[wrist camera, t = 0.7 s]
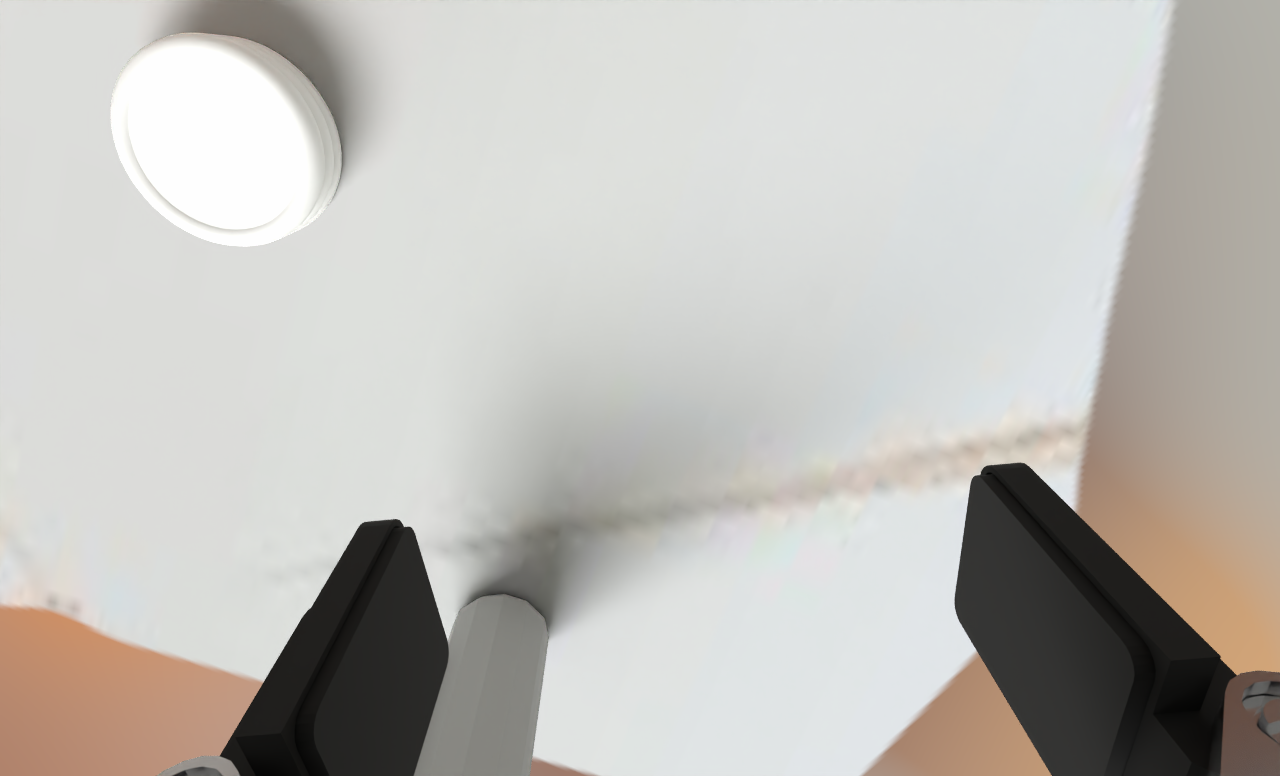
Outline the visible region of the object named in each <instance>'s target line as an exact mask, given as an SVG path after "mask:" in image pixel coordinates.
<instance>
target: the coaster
mask: <svg viewBox="0 0 1280 776" xmlns="http://www.w3.org/2000/svg"><path fill="white" fill-rule="evenodd" d="M110 120H111V128H112V134H113V138H114V142H115V146H116V149H117V152H118V154H119V157H120V160H121V162H122V164H123V166H124V168H125V170H126V172H127V174H128V175H129V177H130V178H131V180H132V181H133V183H134V185H135V186H136V187H137V188H138V190H139V191H140V192H141V194H142V195H143V196H144V197H145V198H146V199H147V201H148V202H149V203H150V204H151V205H152V206H153V207H154V208H155V209H156V210H157V211H159V212H160V213H161V214H162V215H163V216H164V217H166V218H167V219H168V220H170V221H171V222H172V223H174V224H175V225H177V226H178V227H180V228H182V229H183V230H185V231H187V232H189V233H191V234H193V235H195V236H197V237H199V238H202V239H205V240H208V241H211V242H215V243H219V244H224V245H233V246H256V245H262V244H267V243H270V242H273V241H276V240H279V239H281V238H283V237H285V236H287V235H289V234H291V233H293V232H295V231H298V230H300V229H302V228H304V227H306V226H307V225H309V224H310V223H312V222H313V221H314V220H316V219H317V218H318V217H319V216H320V215H321V214H322V213H323V212H324V210H325V209H326V208H327V206H328V205H329V203H330V202H331V200H332V198H333V196H334V194H335V192H336V189H337V186H338V183H339V179H340V174H341V167H342V152H341V144H340V138H339V134H338V130H337V127H336V124H335V122H334V119H333V116H332V114H331V112H330V110H329V108H328V106H327V104H326V103H325V101H324V99H323V98H322V96H321V95H320V93H319V92H318V90H317V89H316V88H315V87H314V85H313V84H312V83H311V81H310V80H309V79H308V78H307V77H306V76H305V75H304V74H303V73H302V72H301V71H300V70H299V69H298V68H297V67H295V66H294V65H293V64H292V63H291V62H290V61H288V60H287V59H285V58H284V57H283V56H281V55H280V54H278V53H277V52H275V51H273V50H271V49H270V48H268V47H266V46H264V45H261V44H259V43H256V42H254V41H252V40H248V39H244V38H240V37H235V36H226V35H216V34H207V33H198V32H194V33H179V34H174V35H169V36H166V37H163V38H161V39H158V40H155V41H154V42H152V43H150V44H148V45H147V46H145V47H144V48H142V49H140V50H139V51H138V52H137V53H136V54H135V55H134V56H132V57H131V58H130V60H129V61H128V62H127V63H126V65H125V66H124V67H123V69H122V71H121V73H120V75H119V76H118V78H117V81H116V84H115V87H114V90H113V94H112V100H111V115H110Z"/></svg>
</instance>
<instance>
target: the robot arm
mask: <svg viewBox="0 0 1280 776" xmlns="http://www.w3.org/2000/svg"><path fill="white" fill-rule="evenodd" d="M955 609H956V614H957V616H958V619H959V621H960V623H961V625H962V627H963V628H964V630H965V632H966V633H967V635H968V637H969V638H970V640H971V642H972V643H973V645H974V647H975V648H976V650H977V652H978V653H979V655H980V657H981V658H982V660H983V662H984V663H985V665H986V667H987V668H988V670H989V671H990V673H991V675H992V677H993V678H994V680H995V682H996V683H997V685H998V687H999V688H1000V690H1001V692H1002V693H1003V695H1004V697H1005V698H1006V700H1007V702H1008V703H1009V705H1010V707H1011V708H1012V710H1013V711H1014V713H1015V715H1016V717H1017V718H1018V720H1019V722H1020V723H1021V725H1022V726H1023V728H1024V730H1025V731H1026V733H1027V735H1028V737H1029V738H1030V740H1031V742H1032V743H1033V745H1034V747H1035V748H1036V750H1037V751H1038V753H1039V755H1040V757H1041V758H1042V760H1043V762H1044V763H1045V765H1046V767H1047V768H1048V770H1049V772H1050V773H1051V775H1052V776H1280V673H1279V672H1267V671H1252V672H1246V673H1241V674H1239V675H1236V674H1235V673H1234V672H1233V671H1232V670H1231V669H1230V668H1229V667H1228V666H1227V665H1226V664H1225V663H1224V662H1223V661H1222V660H1221V659H1220V655H1219V654H1218V653H1217V652H1216V651H1215V650H1214V649H1213V648H1212V647H1211V646H1210V645H1209V644H1208V643H1207V642H1206V641H1204V639H1203V638H1202V637H1201V636H1200V635H1199V634H1198V633H1196V631H1194V629H1192V627H1191V626H1189V625H1188V624H1187V623H1186V622H1185V621H1184V620H1183V619H1182V618H1181V617H1180V616H1179V615H1178V614H1177V613H1176V612H1175V611H1174V610H1173V609H1172V608H1171V607H1170V606H1169V605H1168V604H1167V603H1166V602H1165V601H1164V600H1163V599H1162V598H1161V597H1160V596H1159V595H1158V594H1157V593H1156V592H1155V591H1154V590H1153V589H1152V588H1151V587H1150V586H1149V585H1148V584H1147V583H1146V582H1145V581H1144V580H1143V579H1142V578H1141V577H1140V576H1139V575H1138V574H1137V573H1136V572H1135V571H1134V570H1133V569H1132V568H1131V567H1130V566H1129V565H1128V564H1127V563H1126V562H1125V561H1124V560H1123V559H1122V558H1121V557H1120V556H1119V555H1118V554H1117V553H1115V551H1114V550H1113V549H1112V548H1111V547H1110V546H1109V545H1108V544H1107V543H1106V542H1105V541H1104V540H1103V539H1102V538H1100V536H1099V535H1098V534H1097V533H1096V532H1094V530H1092V528H1090V526H1088V525H1087V523H1085V522H1084V521H1083V520H1082V519H1081V518H1080V517H1079V516H1078V515H1077V514H1076V513H1075V512H1074V511H1073V510H1072V509H1071V508H1070V507H1069V506H1068V505H1067V504H1066V503H1065V502H1064V501H1063V500H1062V499H1061V498H1060V497H1059V496H1058V495H1057V494H1056V493H1055V492H1054V491H1053V490H1052V489H1051V488H1050V487H1049V486H1048V485H1047V484H1046V483H1045V482H1044V481H1043V480H1042V479H1041V478H1040V477H1039V476H1038V475H1037V474H1036V473H1035V472H1034V471H1033V470H1032V469H1031V468H1030V467H1029V466H1027V465H1026V464H1025V463H1011V464H1000V465H989V466H986V467H984V468H983V470H982V471H981V475H977V476H974V477H973V479H972V481H971V485H970V492H969V499H968V506H967V514H966V521H965V528H964V535H963V542H962V549H961V556H960V564H959V571H958V578H957V585H956V592H955ZM448 658H449V647H448V641H447V638H446V635H445V631H444V628H443V625H442V621H441V618H440V615H439V612H438V608H437V605H436V602H435V598H434V595H433V592H432V588H431V585H430V582H429V579H428V575H427V572H426V569H425V565H424V562H423V559H422V556H421V552H420V549H419V546H418V542H417V539H416V536H415V533H414V530H413V529H412V528H411V527H404V526H403V524H402V523H401V521H400V520H397V519H393V520H382V521H371V522H364V523H362V524H361V525H360V526H359V528H358V529H357V531H356V533H355V534H354V536H353V538H352V540H351V541H350V543H349V545H348V546H347V548H346V550H345V551H344V553H343V555H342V557H341V558H340V560H339V562H338V563H337V565H336V567H335V568H334V570H333V572H332V573H331V575H330V577H329V579H328V580H327V582H326V584H325V585H324V587H323V589H322V590H321V592H320V594H319V595H318V597H317V599H316V601H315V602H314V604H313V606H312V607H311V609H309V610H308V611H307V612H306V613H305V615H304V616H303V617H302V619H301V621H300V622H299V624H298V626H297V627H296V629H295V631H294V632H293V634H292V636H291V637H290V639H289V641H288V642H287V644H286V646H285V647H284V649H283V651H282V652H281V654H280V656H279V657H278V659H277V661H276V663H275V664H274V666H273V668H272V669H271V671H270V673H269V674H268V676H267V678H266V679H265V681H264V683H263V684H262V686H261V688H260V689H259V691H258V693H257V695H256V696H255V698H254V700H253V701H252V703H251V704H250V706H249V708H248V710H247V711H246V713H245V715H244V716H243V718H242V720H241V721H240V723H239V725H238V726H237V728H236V730H235V731H234V733H233V735H232V736H231V738H230V740H229V741H228V743H227V745H226V747H225V748H224V750H223V751H222V753H221V755H220V756H201V757H197V758H194V759H190V760H186V761H183V762H181V763H179V764H177V765H175V766H173V767H171V768H169V769H167V770H164V771H163V772H161V773H160V774H159V775H157V776H414V773H415V770H416V767H417V763H418V760H419V757H420V754H421V750H422V747H423V744H424V740H425V737H426V734H427V731H428V727H429V724H430V721H431V717H432V714H433V711H434V708H435V704H436V701H437V698H438V694H439V691H440V688H441V685H442V681H443V678H444V675H445V671H446V668H447V664H448Z"/></svg>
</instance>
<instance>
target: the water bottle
mask: <svg viewBox="0 0 1280 776" xmlns="http://www.w3.org/2000/svg"><path fill="white" fill-rule="evenodd" d="M548 639H549V636H548V631H547V627H546V622H545V618H544V617H543V616H542V615H541V614H540V613H539V612H537V611H536V610H535V609H534V608H533V607H532V606H531V605H530V604H529V603H528V602H527V601H526V600H522V599H519V598H516V597H513V596H510V595H507V594H500V595H490V596H482V597H480V598H478V599H476V600H475V601H473V602H472V603H470V604H468V605H467V606H465V607H464V608H462V609H460V611H459V613H458V615H457V618H456V620H455V622H454V625H453V627H452V630H451V633H450V636H449V640H448V647H449V658H448V664H447V668H446V671H445V675H444V678H443V681H442V685H441V688H440V691H439V694H438V698H437V701H436V704H435V708H434V711H433V714H432V717H431V721H430V724H429V727H428V731H427V734H426V737H425V740H424V744H423V747H422V750H421V754H420V757H419V760H418V763H417V767H416V770H415V773H414V776H530V769H531V762H532V755H533V748H534V740H535V733H536V726H537V719H538V711H539V704H540V697H541V690H542V682H543V675H544V668H545V661H546V654H547V646H548Z"/></svg>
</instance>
